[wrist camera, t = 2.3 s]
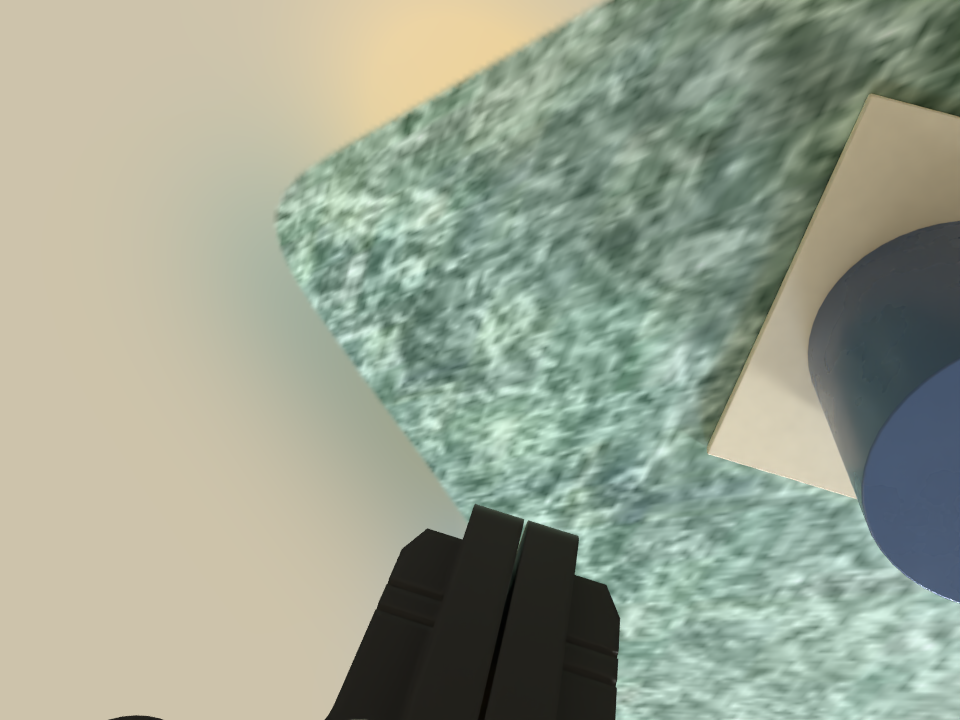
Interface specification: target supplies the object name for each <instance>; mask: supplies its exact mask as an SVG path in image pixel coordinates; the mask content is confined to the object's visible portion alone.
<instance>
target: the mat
mask: <svg viewBox="0 0 960 720" xmlns="http://www.w3.org/2000/svg"><path fill="white" fill-rule="evenodd" d="M955 221H960V117H959V116H955V115H951V114H947V113H944V112H940V111H936V110H932V109H928V108H925V107H921V106H917V105H913V104H909V103H906V102H902V101H898V100H894V99H891V98H887V97H883V96H879V95H875V94H872V93H870V94H869V95H868V97H867V99H866V101H865V103H864V106H863V108H862V110H861V112H860V114H859V117H858V119H857V121H856V123H855V125H854V127H853V130H852V132H851V134H850V136H849V138H848V141H847V143H846V145H845V147H844V149H843V151H842V154H841V156H840V158H839V160H838V162H837V165H836V167H835V169H834V171H833V173H832V175H831V178H830V180H829V182H828V184H827V186H826V189H825V191H824V193H823V195H822V197H821V199H820V202H819V204H818V206H817V208H816V210H815V213H814V215H813V217H812V219H811V221H810V223H809V226H808V228H807V230H806V232H805V234H804V237H803V239H802V241H801V243H800V245H799V247H798V250H797V252H796V254H795V256H794V258H793V261H792V263H791V265H790V267H789V269H788V271H787V274H786V276H785V278H784V280H783V282H782V285H781V287H780V289H779V291H778V293H777V295H776V298H775V300H774V302H773V304H772V306H771V309H770V311H769V313H768V315H767V317H766V319H765V322H764V324H763V326H762V328H761V330H760V333H759V335H758V337H757V339H756V341H755V343H754V346H753V348H752V350H751V352H750V354H749V357H748V359H747V361H746V363H745V365H744V367H743V370H742V372H741V374H740V376H739V378H738V381H737V383H736V385H735V387H734V389H733V391H732V394H731V396H730V398H729V400H728V402H727V405H726V407H725V409H724V411H723V413H722V415H721V418H720V420H719V422H718V424H717V426H716V428H715V431H714V433H713V435H712V437H711V439H710V442H709V444H708V446H707V453H708V454H710V455H713V456H717V457H720V458H723V459H726V460H730V461H733V462H736V463H740V464H743V465H746V466H750V467H753V468H756V469H759V470H763V471H766V472H769V473H773V474H776V475H779V476H783V477H786V478H789V479H792V480H796V481H799V482H802V483H806V484H809V485H812V486H816V487H819V488H822V489H825V490H829V491H832V492H835V493H839V494H842V495H845V496H849V497H852V498H855V499H857V497H856V494H855V492H854V489H853V487H852V484H851V481H850V479H849V476H848V474H847V471H846V469H845V466H844V463H843V461H842V458H841V456H840V453H839V450H838V448H837V445H836V443H835V440H834V438H833V435H832V432H831V430H830V427H829V425H828V422H827V420H826V417H825V414H824V412H823V409H822V407H821V404H820V402H819V399H818V396H817V394H816V391H815V389H814V386H813V384H812V381H811V376H810V372H809V367H808V345H809V337H810V333H811V329H812V325H813V322H814V320H815V318H816V315H817V313H818V310H819V308H820V307H821V305H822V303H823V301H824V300H825V298H826V296H827V295H828V293H829V292H830V291H831V289H832V288H833V287H834V285H835V284H836V283H837V281H838V280H839V279H840V278H841V277H842V276H843V275H844V274H845V273H846V272H847V271H848V270H849V269H850V268H851V267H852V266H853V265H855V264H856V263H857V262H858V261H860V260H861V259H862V258H863V257H864V256H866V255H867V254H869V253H870V252H872V251H874V250H875V249H877V248H878V247H880V246H881V245H883V244H885V243H887V242H889V241H891V240H893V239H895V238H897V237H899V236H902V235H904V234H907V233H910V232H912V231H915V230H917V229H921V228H925V227H928V226H932V225H936V224H941V223H948V222H955Z"/></svg>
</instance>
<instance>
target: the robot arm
mask: <svg viewBox="0 0 960 720" xmlns="http://www.w3.org/2000/svg"><path fill="white" fill-rule="evenodd" d="M523 523H524V519H521V518H518V517H515V516H512V515H509V514H505V513H502V512H499V511H496V510H493V509H489V508H486V507H483V506H480V505H477V504H475V505H474V508H473V511H472V514H471V517H470V520H469V523H468V525H467V528H466V532H465V535H464V538H463V540H462V539H459V538H456V537H453V536H449V535H446V534H443V533H440V532H437V531H433V530H430V529H426V530H425V531H424V532H422V533H421V534H420V535H419V536H417V537H416V538H415V539H414V540H413V541H411V542H410V543H409V544H408V545H406V546H405V547H404V548H403V549H402V550H401V552H400V555H399V557H398V559H397V562H396V564H395V566H394V569H393V571H392V573H391V575H390V578H389V581H388V584H387V585H386V587H385V589H384V592H383V594H382V596H381V598H380V601H379V603H378V606H377V609H376V610H375V612H374V614H373V617H372V619H371V621H370V624H369V626H368V628H367V630H366V633H365V635H364V637H363V640H362V642H361V644H360V647H359V649H358V651H357V653H356V656H355V658H354V660H353V663H352V665H351V667H350V670H349V672H348V674H347V676H346V679H345V681H344V683H343V686H342V688H341V690H340V692H339V695H338V697H337V699H336V702H335V704H334V706H333V708H332V710H331V711H330V713H329V715H328V716H327V718H326V719H325V720H615V714H616V693H617V688H616V682H617V671H618V659H617V655H618V650H619V629H620V617H619V615H618V612H617V610H616V607H615V605H614V603H613V600H612V598H611V595H610V593H609V590H608V588H607V585H605V584H602V583H598V582H595V581H592V580H589V579H586V578H583V577H580V576H576V575H575V567H576V559H577V551H578V543H579V537H578V536H576V535H573V534H570V533H567V532H564V531H560V530H557V529H554V528H551V527H548V526H545V525H541V524H538V523H535V522H532V521H529V520H528V522H527V524H526V527H525V530H524V533H523V536H522V539H521V542H520V545H519V541H520V536H521V532H522V528H523ZM518 545H519V548H518ZM517 549H518V551H517ZM110 720H162V719H160V718H155V717H150V716H137V715H136V716H125V717H119V718H114V719H110Z"/></svg>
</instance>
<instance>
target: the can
mask: <svg viewBox="0 0 960 720" xmlns="http://www.w3.org/2000/svg"><path fill="white" fill-rule="evenodd" d="M808 367H809V372H810V376H811V381H812V384H813V386H814V389H815V391H816V394H817V396H818V399H819V402H820V404H821V407H822V409H823V412H824V414H825V417H826V420H827V422H828V425H829V427H830V430H831V432H832V435H833V438H834V440H835V443H836V445H837V448H838V450H839V453H840V456H841V458H842V461H843V463H844V466H845V469H846V471H847V474H848V476H849V479H850V481H851V484H852V487H853V489H854V492H855V494H856V497H857V499H858V502H859V505H860V507H861V510H862V512H863V515H864V517H865V520H866V522H867V525H868V527H869V530H870V532H871V535H872V537H873V538H874V540H875V542H876V543H877V545H878V547H879V548H880V550H881V551H882V552H883V554H884V555H885V556H886V557H887V558H888V559H889V561H890V562H891V563H892V564H893V565H894V566H895V567H896V568H898V569H899V570H900V571H901V572H902V573H903V574H904V575H906V576H907V577H908V578H910V579H911V580H913V581H914V582H916V583H917V584H919V585H920V586H922V587H923V588H925V589H927V590H929V591H931V592H933V593H935V594H937V595H939V596H941V597H944V598H946V599H949V600H952V601H954V602H957V603H960V221H955V222H948V223H941V224H936V225H932V226H928V227H925V228H921V229H917V230H915V231H912V232H910V233H907V234H904V235H902V236H899V237H897V238H895V239H893V240H891V241H889V242H887V243H885V244H883V245H881V246H880V247H878V248H877V249H875V250H874V251H872V252H870V253H869V254H867V255H866V256H864V257H863V258H862V259H861V260H860V261H858V262H857V263H856V264H855V265H853V266H852V267H851V268H850V269H849V270H848V271H847V272H846V273H845V274H844V275H843V276H842V277H841V278H840V279H839V280H838V281H837V283H836V284H835V285H834V287H833V288H832V289H831V291H830V292H829V293H828V295H827V296H826V298H825V300H824V301H823V303H822V305H821V307H820V308H819V310H818V313H817V315H816V318H815V320H814V322H813V325H812V329H811V333H810V337H809V345H808Z"/></svg>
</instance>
